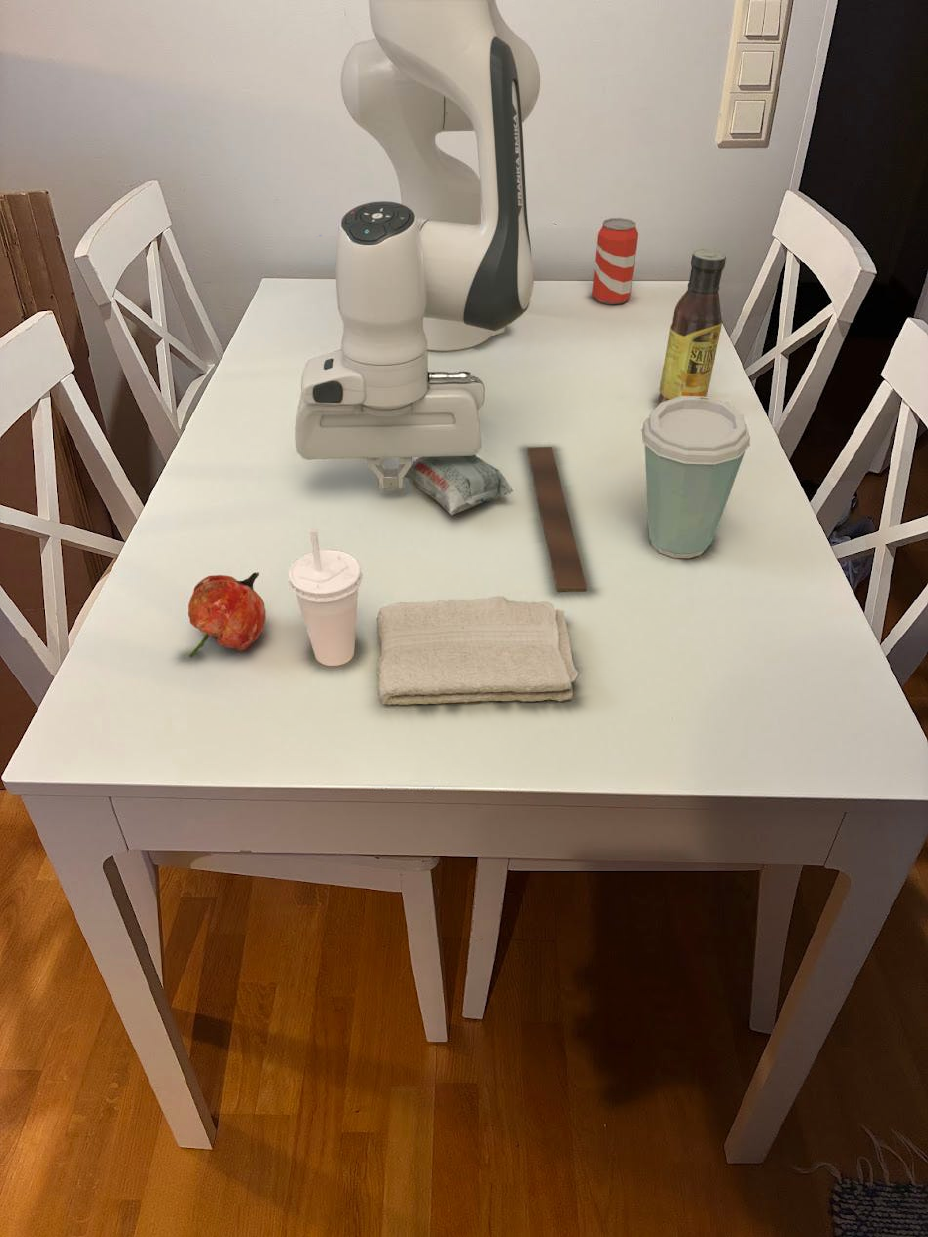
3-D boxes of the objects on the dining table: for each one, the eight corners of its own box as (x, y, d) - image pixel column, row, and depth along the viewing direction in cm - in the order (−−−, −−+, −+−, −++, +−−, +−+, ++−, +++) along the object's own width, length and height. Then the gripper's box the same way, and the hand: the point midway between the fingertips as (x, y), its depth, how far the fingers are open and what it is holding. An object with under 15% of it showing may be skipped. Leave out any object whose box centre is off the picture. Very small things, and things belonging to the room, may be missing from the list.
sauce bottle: (684, 421, 121) (711, 268, 109) (647, 404, 125) (669, 253, 112) (715, 405, 125) (745, 255, 112) (678, 389, 128) (703, 242, 115)
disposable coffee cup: (718, 580, 96) (747, 452, 86) (615, 558, 99) (632, 432, 89) (732, 525, 103) (760, 402, 94) (637, 506, 106) (654, 384, 96)
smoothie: (292, 640, 88) (273, 517, 79) (356, 623, 90) (345, 501, 81) (311, 684, 84) (293, 559, 75) (378, 665, 86) (368, 541, 77)
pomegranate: (226, 693, 86) (299, 616, 85) (163, 657, 81) (239, 575, 80) (209, 651, 92) (278, 578, 91) (149, 614, 87) (221, 537, 86)
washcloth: (581, 704, 82) (584, 678, 80) (377, 713, 81) (374, 687, 79) (561, 617, 91) (563, 592, 89) (377, 624, 90) (375, 599, 88)
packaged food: (451, 532, 102) (451, 493, 99) (393, 484, 109) (392, 447, 106) (513, 507, 106) (516, 469, 103) (454, 463, 113) (454, 427, 110)
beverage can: (620, 309, 150) (629, 232, 142) (585, 300, 152) (591, 224, 144) (636, 297, 153) (646, 221, 146) (601, 289, 156) (609, 214, 148)
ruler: (527, 450, 116) (527, 447, 115) (551, 450, 116) (551, 446, 115) (556, 591, 94) (557, 588, 94) (586, 590, 94) (586, 587, 94)
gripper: (482, 358, 100) (480, 470, 109) (291, 362, 99) (305, 474, 108) (487, 385, 95) (484, 499, 104) (285, 389, 94) (300, 504, 103)
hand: (391, 486), depth 106 cm, fingers closed
